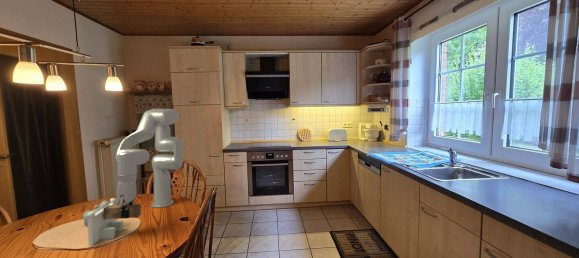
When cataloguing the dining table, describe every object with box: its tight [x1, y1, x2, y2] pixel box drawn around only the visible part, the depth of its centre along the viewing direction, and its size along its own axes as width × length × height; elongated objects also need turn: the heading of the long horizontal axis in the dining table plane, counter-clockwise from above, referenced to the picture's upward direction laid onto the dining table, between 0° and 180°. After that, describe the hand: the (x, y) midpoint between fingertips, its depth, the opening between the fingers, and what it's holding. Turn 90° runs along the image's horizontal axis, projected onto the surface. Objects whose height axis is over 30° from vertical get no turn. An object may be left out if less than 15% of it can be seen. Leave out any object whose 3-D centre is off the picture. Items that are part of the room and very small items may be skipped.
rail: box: [103, 203, 142, 220], centre depth 118 cm, size 14×4×5 cm, turn 100°
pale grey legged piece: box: [87, 197, 124, 247], centre depth 117 cm, size 20×7×14 cm, turn 10°
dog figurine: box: [82, 200, 110, 227], centre depth 130 cm, size 5×13×11 cm, turn 147°
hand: (127, 215), depth 118 cm, fingers closed on rail, 4 cm apart
